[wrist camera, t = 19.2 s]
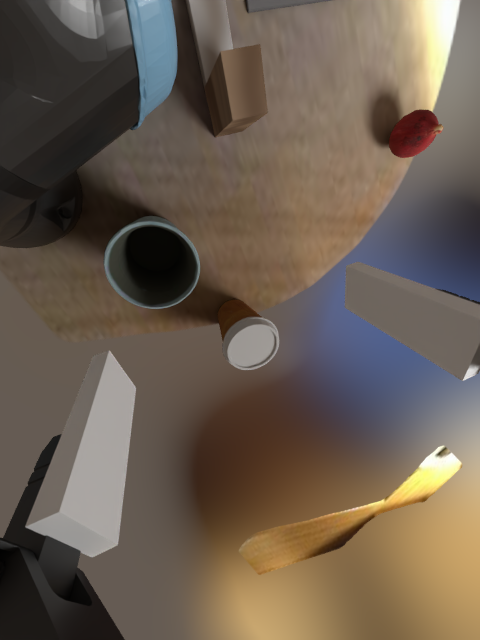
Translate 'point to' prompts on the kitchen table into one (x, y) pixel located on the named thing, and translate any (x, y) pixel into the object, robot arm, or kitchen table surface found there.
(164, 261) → the grey-green hollow open cylinder
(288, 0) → the mat
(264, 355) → the disposable coffee cup
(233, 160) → the kitchen table surface
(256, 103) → the tan l-shaped piece
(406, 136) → the onion
